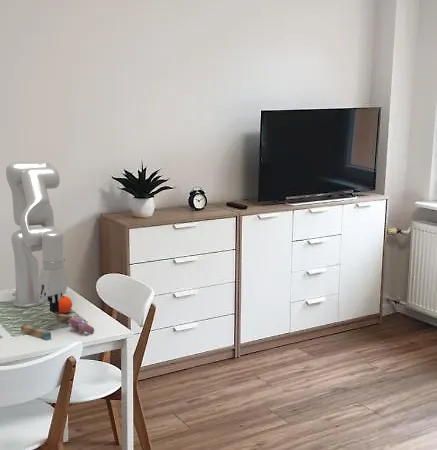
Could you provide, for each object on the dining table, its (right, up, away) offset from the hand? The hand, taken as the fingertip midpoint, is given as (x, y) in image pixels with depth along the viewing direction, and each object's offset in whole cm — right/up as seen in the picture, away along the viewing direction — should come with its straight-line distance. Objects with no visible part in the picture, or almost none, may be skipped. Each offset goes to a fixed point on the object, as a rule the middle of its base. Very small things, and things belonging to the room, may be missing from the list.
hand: (54, 311), depth 256 cm
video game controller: (+10, -8, -1) cm, 13 cm away
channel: (0, -7, +1) cm, 7 cm away
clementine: (-2, -3, +21) cm, 22 cm away
